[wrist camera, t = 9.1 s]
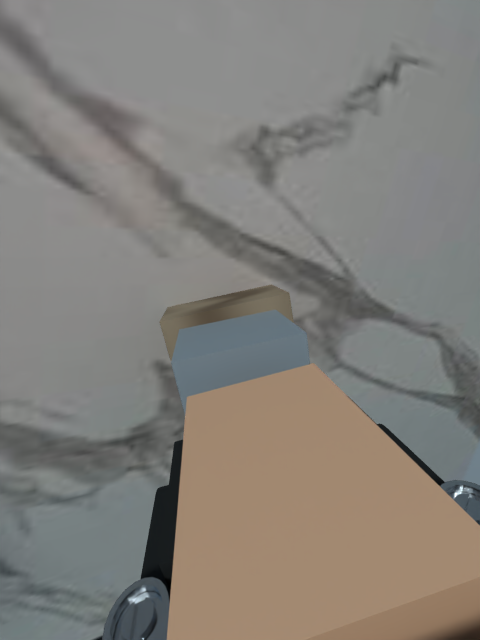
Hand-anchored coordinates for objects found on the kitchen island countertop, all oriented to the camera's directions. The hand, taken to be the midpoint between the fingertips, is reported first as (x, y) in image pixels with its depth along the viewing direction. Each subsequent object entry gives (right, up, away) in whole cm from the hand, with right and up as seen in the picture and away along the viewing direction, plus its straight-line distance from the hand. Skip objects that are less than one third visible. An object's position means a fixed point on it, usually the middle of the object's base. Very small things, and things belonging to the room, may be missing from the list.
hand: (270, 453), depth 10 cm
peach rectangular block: (0, 0, +1) cm, 1 cm away
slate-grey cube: (-1, +2, +7) cm, 8 cm away
